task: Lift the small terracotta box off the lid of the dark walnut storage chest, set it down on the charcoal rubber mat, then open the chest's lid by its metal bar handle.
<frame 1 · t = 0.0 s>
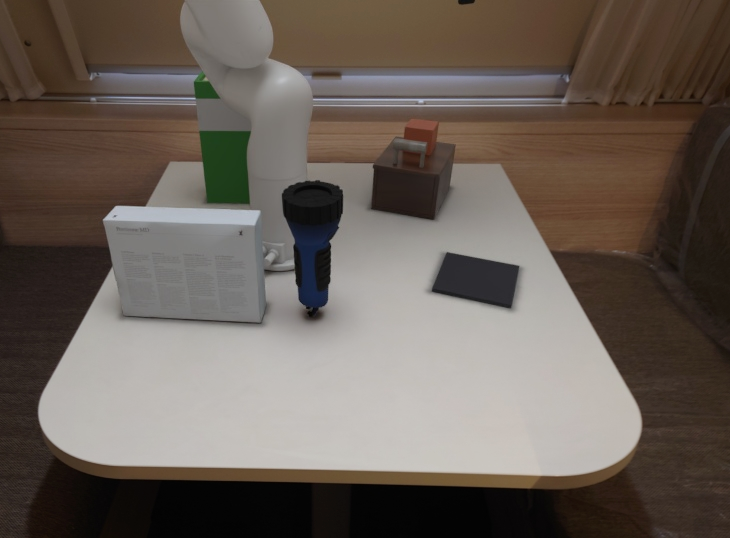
hand: (444, 0, 94), 37 cm above the table, tool pointing down, fingers open, 9 cm apart
hardback book: (252, 196, 120), on the table
small box: (419, 148, 115), point 10 cm above the table, touching lid
lid: (417, 144, 112), point 12 cm above the table, hinge at -0.1°, touching small box
mat: (476, 279, 93), on the table
chest: (411, 198, 118), on the table
skincare box: (195, 310, 87), on the table
flashlight: (312, 317, 86), on the table
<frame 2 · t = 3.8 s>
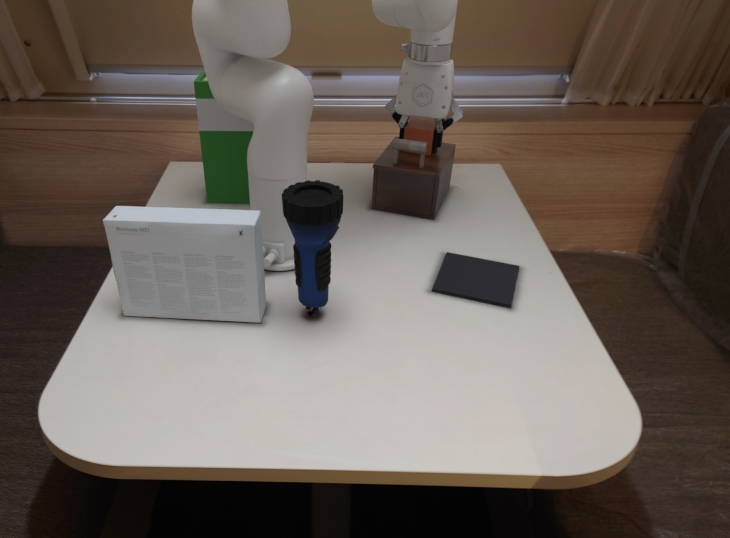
hand: (419, 147, 115), 10 cm above the table, tool pointing down, fingers closed on small box, 5 cm apart
small box: (419, 148, 115), point 10 cm above the table, touching gripper, lid
everything else where it was.
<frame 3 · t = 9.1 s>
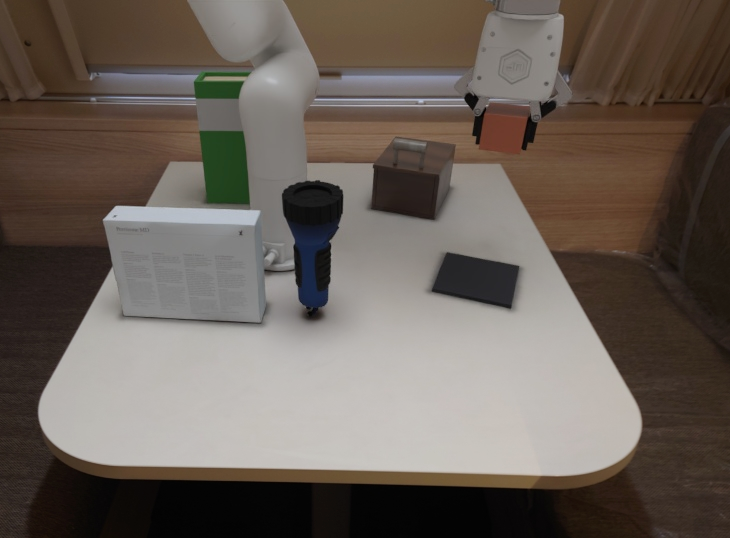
hand: (501, 143, 81), 23 cm above the table, tool pointing down, fingers closed on small box, 5 cm apart
small box: (501, 145, 81), point 22 cm above the table, touching gripper
lid: (417, 144, 112), point 12 cm above the table, hinge at -0.1°
everything else where it was.
when the fingers open (1 cm above the table, at t = 14.2 s): small box stays where it is, resting on mat.
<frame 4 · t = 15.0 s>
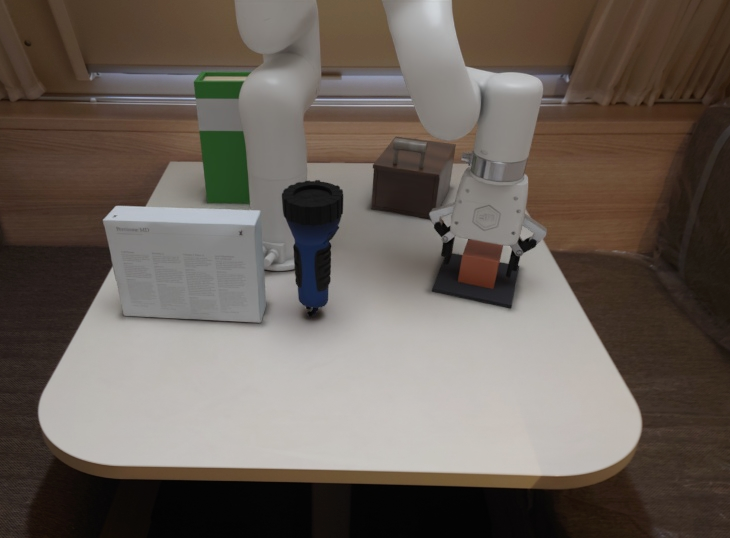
hand: (477, 266, 92), 2 cm above the table, tool pointing down, fingers open, 9 cm apart
small box: (477, 276, 93), point 1 cm above the table, touching mat
everything else where it was.
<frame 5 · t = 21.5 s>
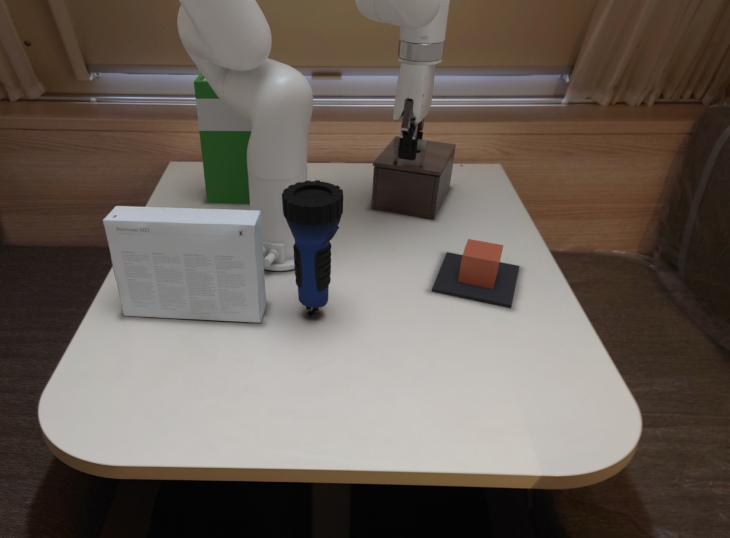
hand: (409, 154, 107), 12 cm above the table, tool pointing down, fingers open, 3 cm apart
lid: (417, 142, 111), point 12 cm above the table, hinge at 1.5°, touching gripper
everything else where it was.
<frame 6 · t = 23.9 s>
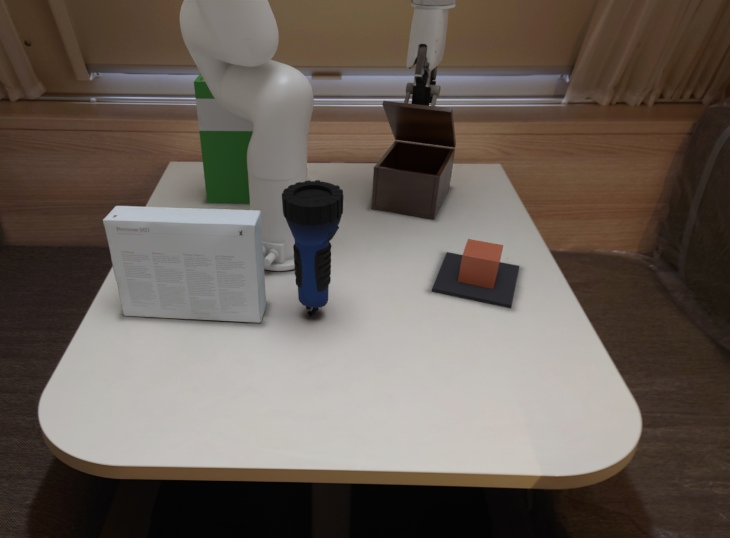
hand: (422, 104, 108), 19 cm above the table, tool pointing down, fingers open, 3 cm apart
lid: (423, 113, 112), point 16 cm above the table, hinge at 41.4°, touching gripper
everything else where it was.
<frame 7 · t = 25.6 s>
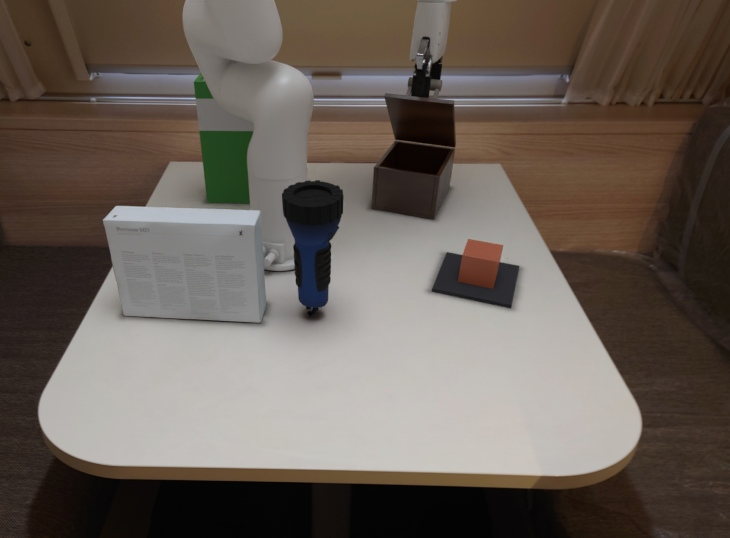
hand: (425, 91, 109), 21 cm above the table, tool pointing down, fingers open, 9 cm apart
lid: (424, 110, 112), point 17 cm above the table, hinge at 46.7°, touching gripper
everything else where it was.
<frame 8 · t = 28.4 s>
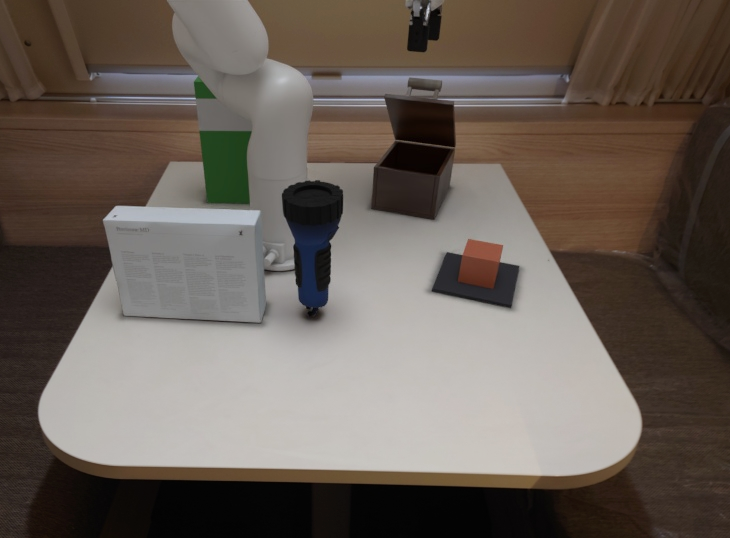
hand: (423, 45, 98), 30 cm above the table, tool pointing down, fingers open, 9 cm apart
lid: (424, 110, 112), point 17 cm above the table, hinge at 46.3°
everything else where it was.
at the end: small box inside the target area on the mat (0.1 cm from its centre), point 0.6 cm above the mat's base; small box tilted 0°; lid at +46° (first picture: +0°) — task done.
